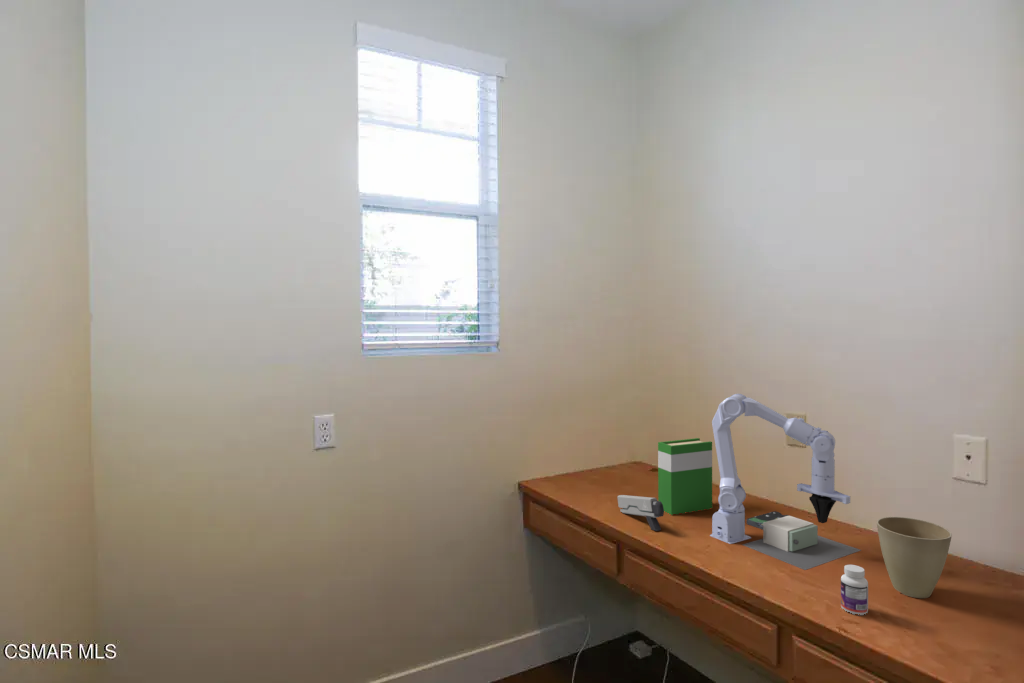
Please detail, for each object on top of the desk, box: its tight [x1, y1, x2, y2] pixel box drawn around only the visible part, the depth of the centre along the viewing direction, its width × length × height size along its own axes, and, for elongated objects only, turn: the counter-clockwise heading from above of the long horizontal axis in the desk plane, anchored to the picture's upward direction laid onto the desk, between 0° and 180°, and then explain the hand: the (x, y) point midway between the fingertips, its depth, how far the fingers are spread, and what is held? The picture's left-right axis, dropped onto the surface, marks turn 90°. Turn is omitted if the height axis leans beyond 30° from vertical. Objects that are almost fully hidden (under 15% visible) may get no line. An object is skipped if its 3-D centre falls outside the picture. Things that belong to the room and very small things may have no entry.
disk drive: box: [746, 510, 800, 531], centre depth 183 cm, size 10×3×15 cm
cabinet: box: [762, 515, 815, 551], centre depth 168 cm, size 12×8×6 cm, turn 119°
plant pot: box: [876, 516, 953, 599], centre depth 137 cm, size 15×15×16 cm
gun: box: [617, 494, 665, 532], centre depth 188 cm, size 2×25×10 cm, turn 21°
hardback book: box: [657, 437, 713, 516], centre depth 201 cm, size 18×7×24 cm, turn 111°
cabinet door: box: [789, 524, 819, 552], centre depth 163 cm, size 12×2×5 cm, turn 118°
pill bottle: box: [840, 564, 869, 616], centre depth 129 cm, size 5×5×10 cm
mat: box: [741, 535, 862, 571], centre depth 164 cm, size 26×20×1 cm
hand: (822, 522), depth 160 cm, fingers closed
